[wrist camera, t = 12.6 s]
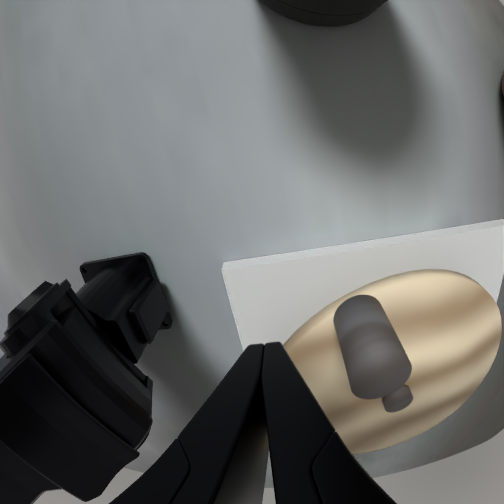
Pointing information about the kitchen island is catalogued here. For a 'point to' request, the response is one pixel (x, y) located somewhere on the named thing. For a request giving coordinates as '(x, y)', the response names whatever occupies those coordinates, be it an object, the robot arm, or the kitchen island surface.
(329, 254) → the base plate
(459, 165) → the kitchen island surface
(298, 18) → the pen holder
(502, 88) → the vase
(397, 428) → the handwheel
